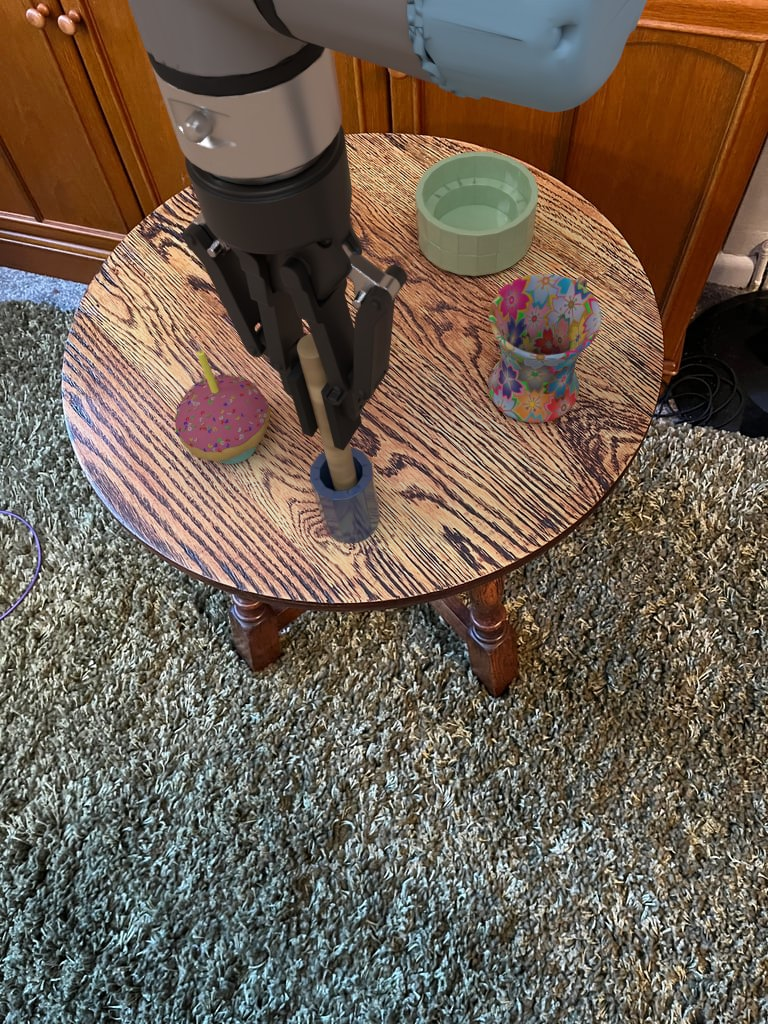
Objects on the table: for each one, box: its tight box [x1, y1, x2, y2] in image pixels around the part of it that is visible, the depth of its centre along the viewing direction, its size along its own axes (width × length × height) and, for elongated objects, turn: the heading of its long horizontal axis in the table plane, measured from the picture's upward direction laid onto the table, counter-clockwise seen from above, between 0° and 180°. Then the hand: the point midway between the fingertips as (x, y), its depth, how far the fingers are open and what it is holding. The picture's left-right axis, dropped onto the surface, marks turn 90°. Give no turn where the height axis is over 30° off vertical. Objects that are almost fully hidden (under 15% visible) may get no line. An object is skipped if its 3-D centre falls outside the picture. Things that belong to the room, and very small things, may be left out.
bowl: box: [414, 150, 540, 277], centre depth 81 cm, size 12×12×6 cm
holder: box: [309, 445, 381, 544], centre depth 65 cm, size 5×5×8 cm
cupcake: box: [174, 342, 272, 465], centre depth 68 cm, size 9×8×12 cm
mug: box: [487, 273, 602, 424], centre depth 69 cm, size 12×9×11 cm
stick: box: [297, 333, 358, 491], centre depth 57 cm, size 2×2×20 cm
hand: (332, 427), depth 56 cm, fingers closed on stick, 2 cm apart
